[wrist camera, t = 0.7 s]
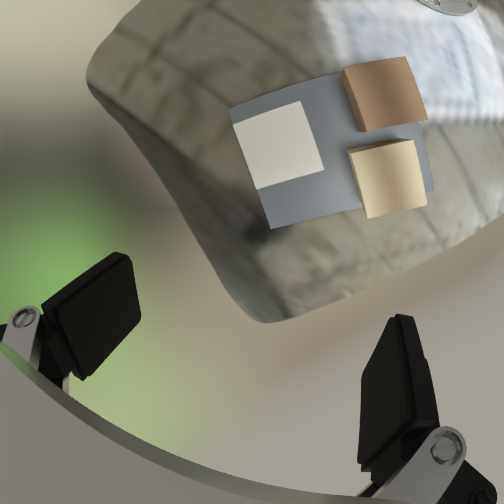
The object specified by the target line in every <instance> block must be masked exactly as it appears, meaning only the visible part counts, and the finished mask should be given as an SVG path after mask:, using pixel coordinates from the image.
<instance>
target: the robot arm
mask: <svg viewBox="0 0 504 504" xmlns="http://www.w3.org/2000/svg"><path fill="white" fill-rule="evenodd" d="M419 1H420V2H422V3H423V4H425V5H427V6H429V7H431V8H433V9H435V10H437V11H440V12H442V13H446V14H449V15H456V16H460V15H466V14H469V13H470V12H472V11H473V10H474V9H475V8H476V6H477V3H478V0H419ZM41 307H42V309H43V312H44V314H42V315H41V313H40V311H39V309H38V308H37V307H34V306H25V307H22V308H20V309H18V310H17V311H15V312H14V313H13V314H12V316H11V318H10V319H9V322H8V324H3V325H0V504H496V502H497V492H496V489H495V487H494V486H493V484H492V483H490V482H489V481H488V480H487V479H486V478H485V477H484V476H483V475H481V474H480V473H479V472H478V471H477V470H476V469H474V468H473V467H472V466H471V465H470V464H469V463H468V462H467V461H466V460H464V458H465V455H466V448H467V447H466V442H465V440H464V438H463V436H462V434H460V432H458V430H456V429H454V428H452V427H448V426H444V427H440V423H439V417H438V410H437V404H436V399H435V393H434V388H433V383H432V379H431V374H430V370H429V366H428V362H427V360H426V359H425V357H424V353H423V349H422V346H421V342H420V338H419V334H418V331H417V327H416V324H415V321H414V318H413V317H412V316H408V315H402V314H396V315H395V317H394V318H393V317H390V318H389V320H388V322H387V324H386V327H385V329H384V331H383V333H382V335H381V337H380V339H379V341H378V344H377V346H376V348H375V350H374V352H373V354H372V356H371V358H370V360H369V361H368V363H367V365H366V367H365V369H364V371H363V374H362V378H361V411H360V413H361V414H360V431H359V445H358V456H357V462H358V463H359V464H361V472H371V481H372V482H370V484H368V485H367V486H366V487H365V488H364V489H363V490H362V491H361V492H360V493H359V494H357V495H356V496H355V497H353V496H341V495H330V494H320V493H312V492H306V491H299V490H294V489H288V488H282V487H277V486H272V485H267V484H263V483H259V482H254V481H250V480H247V479H243V478H239V477H236V476H232V475H229V474H226V473H222V472H219V471H216V470H213V469H210V468H207V467H205V466H202V465H199V464H196V463H194V462H191V461H188V460H186V459H183V458H181V457H178V456H176V455H174V454H171V453H169V452H167V451H164V450H162V449H160V448H158V447H156V446H154V445H152V444H149V443H147V442H145V441H143V440H141V439H140V438H138V437H136V436H134V435H132V434H130V433H128V432H126V431H124V430H123V429H121V428H119V427H117V426H115V425H114V424H112V423H110V422H109V421H107V420H105V419H104V418H102V417H101V416H99V415H97V414H96V413H94V412H93V411H91V410H90V409H88V408H87V407H85V406H83V405H82V404H81V403H79V402H78V401H76V400H75V399H73V398H72V397H71V396H69V373H70V372H71V371H72V373H73V374H74V376H76V377H77V378H79V379H80V380H82V381H84V380H85V379H86V377H87V376H91V375H92V374H93V373H94V372H95V370H96V369H97V368H98V367H99V366H100V365H101V364H102V363H103V362H104V360H105V359H106V358H107V357H108V356H109V355H110V354H111V353H112V351H113V350H114V349H115V348H116V347H117V346H118V345H119V344H120V343H121V342H122V340H123V339H124V338H125V337H126V336H127V335H128V334H129V333H130V332H131V331H132V329H133V328H134V327H135V326H136V325H137V324H138V323H139V322H140V319H141V311H140V305H139V300H138V295H137V289H136V283H135V277H134V272H133V264H132V261H131V260H130V258H129V256H128V255H126V254H122V253H119V252H113V253H112V254H110V255H109V256H107V257H106V258H104V259H103V260H101V261H100V262H98V263H97V264H95V265H94V266H93V267H91V268H90V269H88V270H87V271H85V272H84V273H83V274H81V275H80V276H79V277H77V278H76V279H74V280H73V281H72V282H70V283H69V284H68V285H66V286H65V287H64V288H62V289H61V290H60V291H58V292H57V293H56V294H54V295H53V296H52V297H50V298H49V299H48V300H46V301H45V302H44V303H43V304H41Z"/></svg>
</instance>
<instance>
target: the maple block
mask: <svg viewBox="0 0 504 504" xmlns="http://www.w3.org/2000/svg"><path fill="white" fill-rule="evenodd" d="M347 153H348V156H349V160H350V163H351V166H352V170H353V173H354V177H355V181H356V184H357V188H358V192H359V196H360V200H361V203H362V206H363V208H364V211H365V213H366V216H367V218H368V219H369V218H373V217H377V216H382V215H386V214H390V213H395V212H399V211H403V210H408V209H412V208H416V207H421V206H425V205H427V201H426V195H425V189H424V184H423V178H422V174H421V169H420V164H419V160H418V155H417V151H416V147H415V143H414V140H411V139H402V138H396V139H391V140H387V141H382V142H378V143H373V144H369V145H365V146H360V147H356V148H352V149H348V150H347Z"/></svg>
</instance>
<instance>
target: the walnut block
mask: <svg viewBox="0 0 504 504" xmlns="http://www.w3.org/2000/svg"><path fill="white" fill-rule="evenodd" d="M341 82H342V84H343V87H344V89H345V92H346V94H347V97H348V100H349V102H350V105H351V108H352V111H353V113H354V116H355V119H356V122H357V125H358V128H359V131H360V132H369V131H373V130H377V129H382V128H387V127H391V126H396V125H401V124H407V123H412V122H418V121H423V120H428V117H427V114H426V111H425V108H424V105H423V101H422V98H421V96H420V93H419V90H418V87H417V84H416V82H415V79H414V76H413V74H412V71H411V69H410V66H409V64H408V62H407V59H406V57H397V58H390V59H384V60H378V61H373V62H367V63H362V64H357V65H353V66H348V67H344V68H343V72H342V78H341Z"/></svg>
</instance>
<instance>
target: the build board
mask: <svg viewBox="0 0 504 504" xmlns="http://www.w3.org/2000/svg"><path fill="white" fill-rule="evenodd" d="M342 72H343V71H341V72H337V73H333V74H329V75H325V76H321V77H318V78H314V79H311V80H307V81H304V82H300V83H297V84H294V85H291V86H288V87H285V88H282V89H279V90H276V91H273V92H270V93H268V94H265V95H262V96H259V97H257V98H254V99H251V100H249V101H246V102H244V103H241V104H239V105H236V106H234V107H232V108H229V109H227V111H228V113H229V116H230V119H231V121H232V124H233V127H234V130H235V132H236V135H237V138H238V140H239V143H240V146H241V148H242V151H243V154H244V157H245V159H246V162H247V165H248V167H249V170H250V173H251V176H252V178H253V181H254V184H255V187H256V189H257V191H258V194H259V197H260V200H261V203H262V205H263V208H264V211H265V214H266V217H267V219H268V222H269V225H270V228H271V229H273V228H277V227H281V226H285V225H289V224H293V223H297V222H301V221H305V220H310V219H314V218H318V217H322V216H326V215H330V214H334V213H338V212H342V211H347V210H351V209H355V208H359V207H363V206H362V203H361V200H360V196H359V192H358V188H357V184H356V181H355V177H354V173H353V170H352V166H351V163H350V160H349V156H348V153H347V150H348V149H352V148H356V147H360V146H365V145H369V144H373V143H378V142H382V141H387V140H391V139H396V138H402V139H411V140H414V143H415V147H416V151H417V155H418V160H419V164H420V169H421V174H422V178H423V184H424V189H425V192H429V191H434V187H433V182H432V176H431V171H430V166H429V161H428V157H427V153H426V148H425V144H424V140H423V137H422V133H421V129H420V126H419V122H412V123H407V124H401V125H396V126H391V127H387V128H382V129H377V130H373V131H369V132H360V131H359V128H358V125H357V122H356V119H355V116H354V113H353V111H352V108H351V105H350V102H349V100H348V97H347V94H346V92H345V89H344V87H343V84H342V82H341V78H342Z"/></svg>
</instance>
